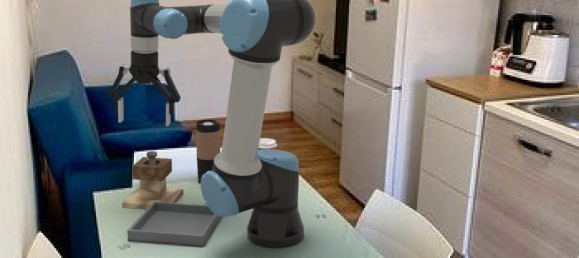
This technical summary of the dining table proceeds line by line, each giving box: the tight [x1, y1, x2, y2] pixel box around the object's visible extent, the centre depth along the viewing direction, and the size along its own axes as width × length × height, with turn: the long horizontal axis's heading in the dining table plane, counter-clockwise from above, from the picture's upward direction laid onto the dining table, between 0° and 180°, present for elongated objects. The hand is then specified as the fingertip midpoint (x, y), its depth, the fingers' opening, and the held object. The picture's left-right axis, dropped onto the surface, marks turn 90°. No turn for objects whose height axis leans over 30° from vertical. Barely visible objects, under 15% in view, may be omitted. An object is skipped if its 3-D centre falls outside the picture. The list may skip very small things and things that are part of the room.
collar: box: [131, 156, 173, 181], centre depth 189 cm, size 9×9×4 cm
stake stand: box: [121, 150, 184, 210], centre depth 189 cm, size 14×14×15 cm
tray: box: [126, 202, 222, 248], centre depth 172 cm, size 20×20×3 cm
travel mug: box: [195, 118, 221, 184], centre depth 205 cm, size 8×8×20 cm
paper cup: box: [258, 137, 278, 150], centre depth 207 cm, size 8×8×14 cm
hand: (144, 122), depth 183 cm, fingers open, 13 cm apart
